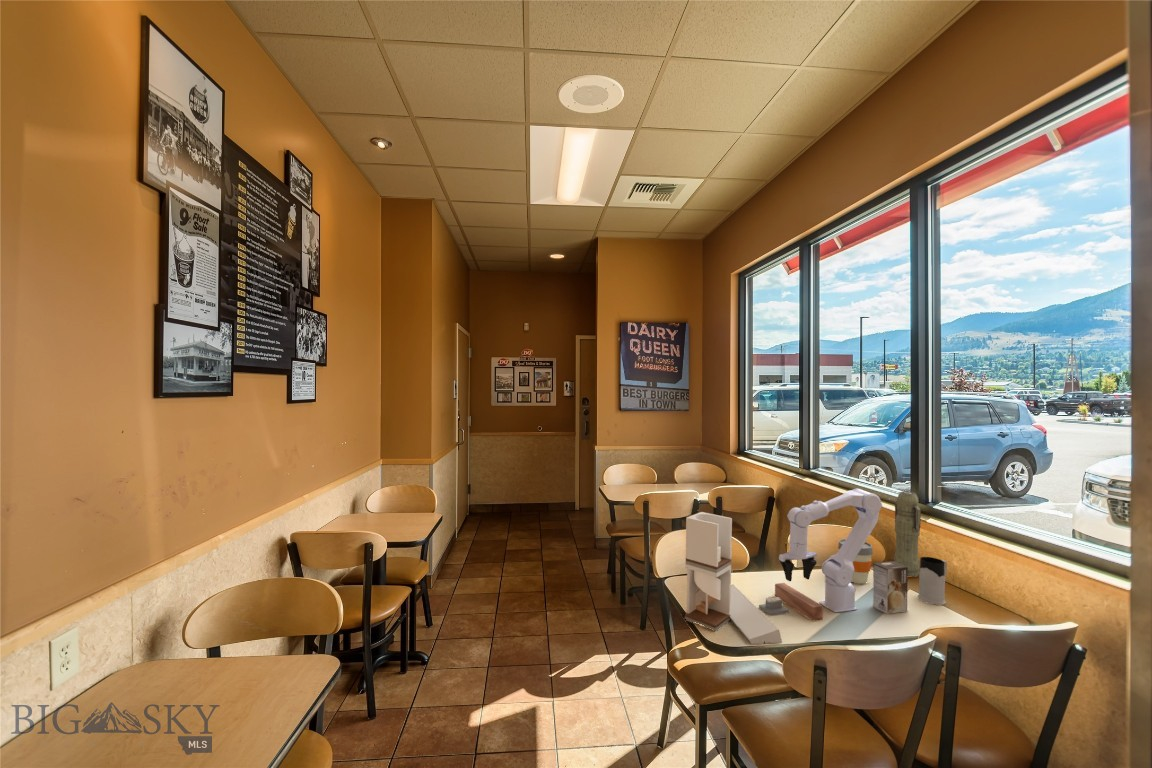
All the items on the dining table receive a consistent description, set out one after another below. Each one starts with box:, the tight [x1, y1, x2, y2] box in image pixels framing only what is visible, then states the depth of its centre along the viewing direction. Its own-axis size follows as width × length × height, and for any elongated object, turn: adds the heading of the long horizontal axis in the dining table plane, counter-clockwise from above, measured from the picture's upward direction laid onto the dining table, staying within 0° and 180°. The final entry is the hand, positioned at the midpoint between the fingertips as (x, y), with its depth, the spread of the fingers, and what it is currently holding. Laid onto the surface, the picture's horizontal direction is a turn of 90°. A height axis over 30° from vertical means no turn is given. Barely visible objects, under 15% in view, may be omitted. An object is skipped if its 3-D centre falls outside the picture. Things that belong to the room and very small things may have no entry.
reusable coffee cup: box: [838, 538, 874, 584], centre depth 205 cm, size 13×13×15 cm
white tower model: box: [684, 511, 733, 632], centre depth 168 cm, size 11×11×35 cm
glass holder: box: [917, 556, 948, 606], centre depth 188 cm, size 9×14×15 cm, turn 117°
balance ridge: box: [758, 596, 790, 616], centre depth 176 cm, size 8×6×4 cm
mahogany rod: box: [774, 582, 824, 622], centre depth 179 cm, size 4×20×5 cm, turn 15°
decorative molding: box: [730, 583, 783, 645], centre depth 171 cm, size 34×5×10 cm
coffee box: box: [872, 560, 908, 615], centre depth 178 cm, size 9×6×16 cm
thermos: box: [893, 491, 922, 577], centre depth 212 cm, size 9×12×35 cm
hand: (797, 579), depth 179 cm, fingers open, 7 cm apart
